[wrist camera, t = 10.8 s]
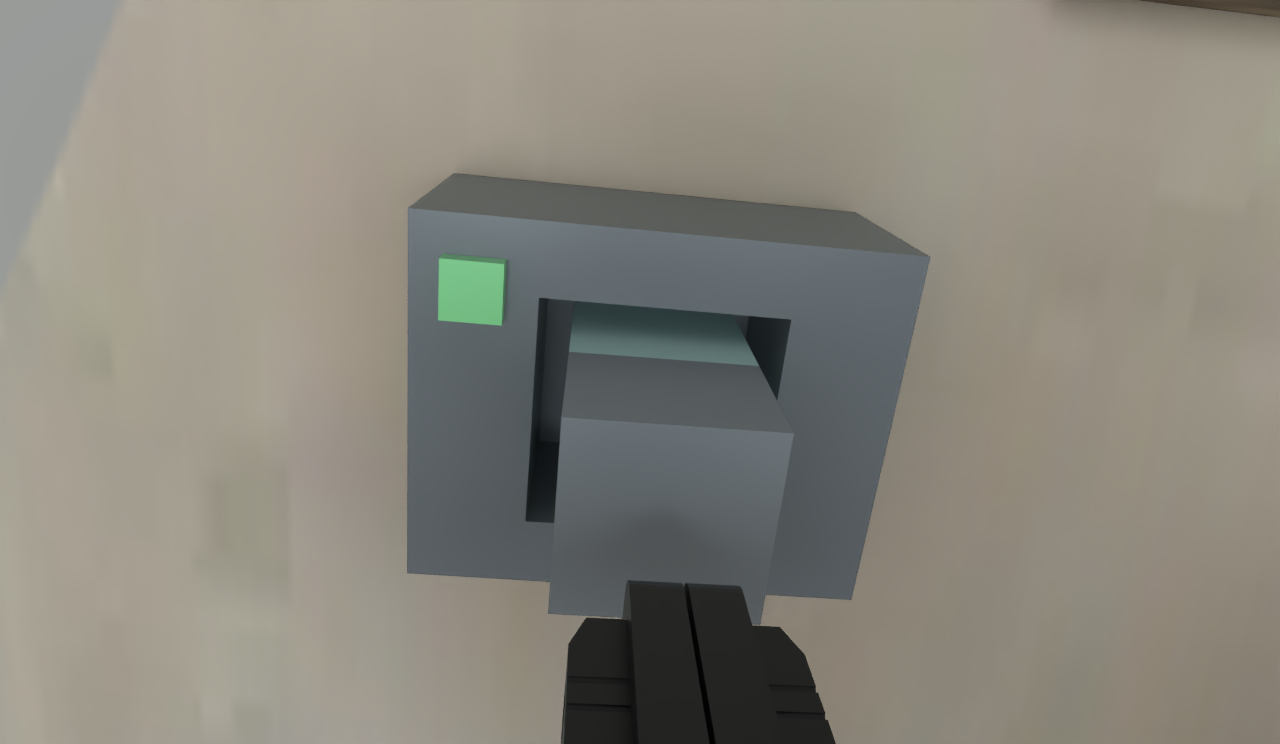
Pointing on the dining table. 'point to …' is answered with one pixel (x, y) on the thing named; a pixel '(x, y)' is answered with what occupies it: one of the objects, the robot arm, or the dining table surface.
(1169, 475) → the dining table surface
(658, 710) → the robot arm
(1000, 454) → the dining table surface
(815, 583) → the port
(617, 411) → the plug
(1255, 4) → the wooden box
